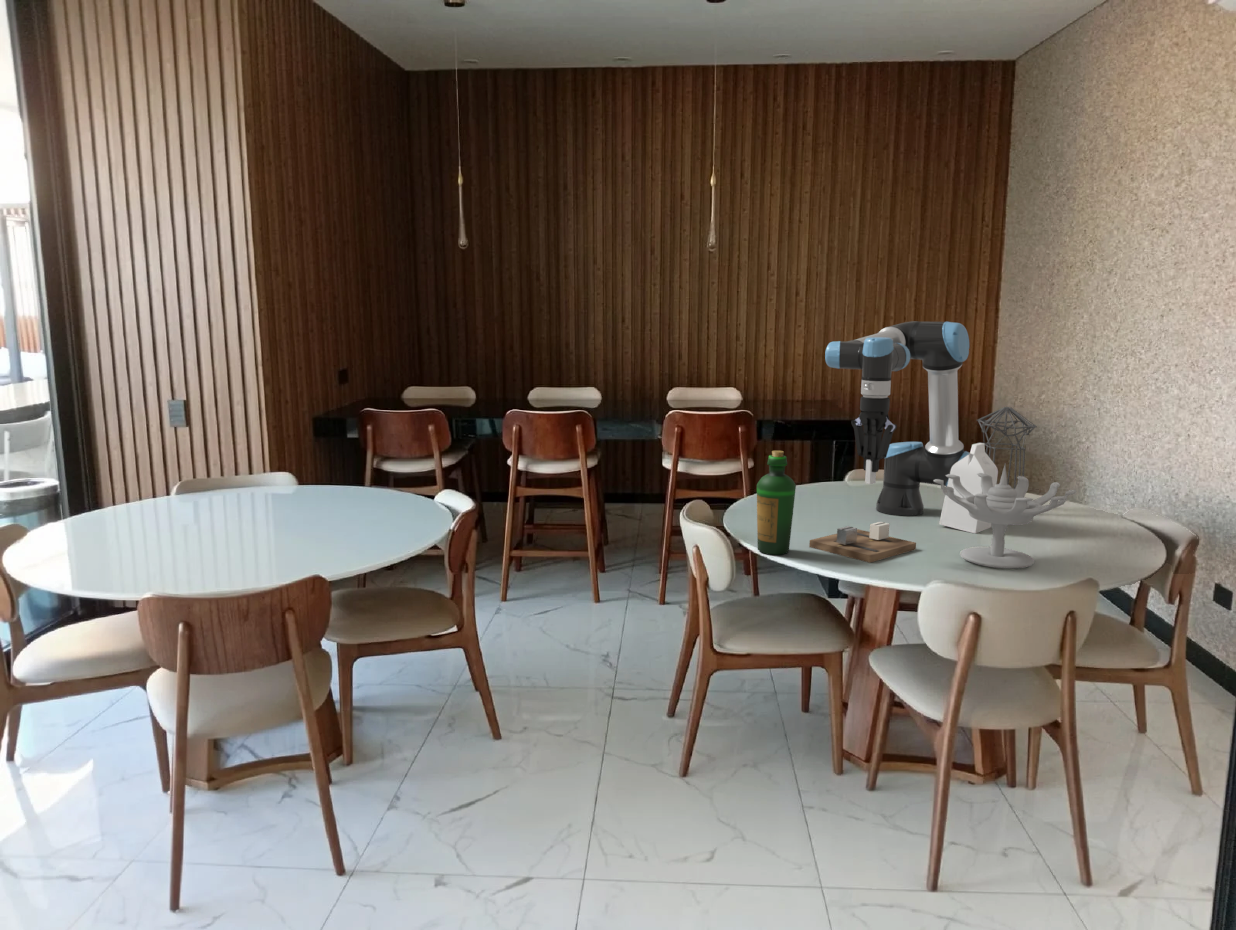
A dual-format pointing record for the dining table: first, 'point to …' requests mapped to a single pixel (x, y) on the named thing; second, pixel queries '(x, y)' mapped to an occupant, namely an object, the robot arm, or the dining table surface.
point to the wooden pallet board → (864, 547)
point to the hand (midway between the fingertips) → (870, 483)
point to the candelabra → (1001, 515)
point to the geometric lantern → (1000, 411)
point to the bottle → (775, 507)
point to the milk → (968, 489)
